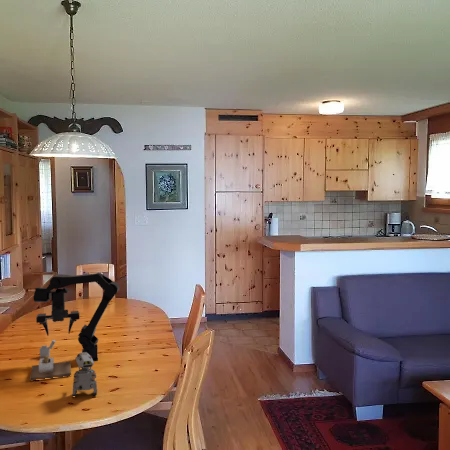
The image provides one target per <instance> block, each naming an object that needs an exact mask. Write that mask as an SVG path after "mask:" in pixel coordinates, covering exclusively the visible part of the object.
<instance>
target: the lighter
mask: <svg viewBox="0 0 450 450" xmlns="http://www.w3.org/2000/svg"><path fill="white" fill-rule="evenodd" d="M56 341H57V340H55V339H52V340H51V343H50V345H49V346H48V345H47V344H46V345H41V347H39V358H44V356H46V355H47V356H48V358H50V355H51V353H50V350H52V349H53V347H54V345H55V343H56Z"/></svg>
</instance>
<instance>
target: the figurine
mask: <svg viewBox="0 0 450 450" xmlns="http://www.w3.org/2000/svg"><path fill="white" fill-rule="evenodd" d="M74 358H75V361H76V365H77V366H78V370H76V371H75V372H74V374H73V383H72V394H71V395H72V396H76V397H77V394H76V393H78V391H80V392H81V391H90V390H93V393H92V394H93V395H98V388H97V386H98V384H97V381H98V380H96V379H97V372H96V370H95V369H92V367H93V366H94V363H95V361H93V358H92V356H90V355H89V354H88V353H87V352H82V351H81V352H79V353H78V354H77V355H76V356H75V357H74Z"/></svg>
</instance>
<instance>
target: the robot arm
mask: <svg viewBox="0 0 450 450" xmlns="http://www.w3.org/2000/svg"><path fill="white" fill-rule="evenodd" d="M87 283H88V284H89V283H90V284H91V283H96V284H98V286H99V287H100V288H101V289H102V290H104V292H103V295H102V298H101V300H100V303H99V304H98V305H97V308H96V309H95V311H94V314H93V315H92V317H91V319H90V320H89V323H88V325H87V324H84V325H83V326H82V327H81V330H80V332H79V333H78V334H77V336H78V338H77V340H78V343H79V344H80V345H81V347H82V349H81V353H82V352H87V353H88V354H89V355H90V356H92V358H93V361H94V362H95V361H98V360H99V357H98V353H99V352H98V342H99V338H98V337H97V336H96V335H95V334H96V329H97V326H98V325H99V322H100V321H101V319H102V316H103V315H104V313H105V311H106V310H107V308H108V306H109V304H110V302H111V301H112V299H114V297H115V296H116V295H117V293H118V292H119V291H120V289H121V287H120V284H119V283H118V282H117V281H114V280H112V279H111V278H109V277H107V276H105V275H104V274H103V273H102V272H95V273H86V274H85V273H84V274H76V275H69V274H55V275H54V276H52V277H51V278H50V280H49V284H48V286H47V287H40V286H38V287H35V290H34V294H33V301H34V303H48V302H49V301H51V313H50V314H49V315H47V313H38V314H36V319H35V320H36V323H37V324H39V325H42V326H43V328H44V331H45V333H46V335H47V337H49V326H48V320H52V322H53V323H56V322H64V320H65V319H69V321H68V334H70V333H71V330H72V328H73V324H75V322H77V320H80V312H79V311H78V310H71V311H70V313H69V310H68V309H66V305H65V301H66V300H65V298H66V297H65V295H66V294H67V293H69V292H70V290H69V289H68V288H67V286H71V285H79V284H80V285H81V284H87ZM54 289H55V290H54Z"/></svg>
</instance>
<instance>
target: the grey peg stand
mask: <svg viewBox="0 0 450 450" xmlns="http://www.w3.org/2000/svg"><path fill="white" fill-rule="evenodd" d="M43 358H44V363H48V358H49V357H48V356H47V355H46V356H44V357H43ZM71 363H72V362H71V361H62V362H54V368H53V372H50V373H42V374H39V364H36V365H31V372H30V377H29V381H30V380H36V379H45V378H53V377H63V376H70V375H71V376H72V369H71V368H72V367H71ZM63 378H64V377H63Z"/></svg>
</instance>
